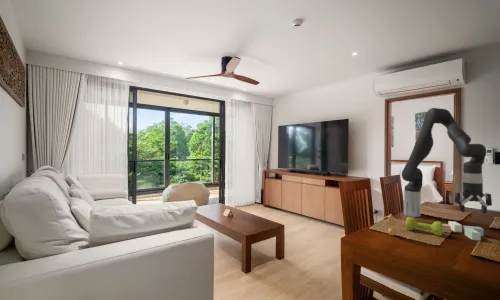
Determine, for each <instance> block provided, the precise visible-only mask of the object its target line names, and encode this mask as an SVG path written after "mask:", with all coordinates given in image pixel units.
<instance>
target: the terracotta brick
mask: <svg viewBox="0 0 500 300" xmlns="http://www.w3.org/2000/svg"><path fill="white" fill-rule="evenodd" d="M442 225H443V233H445V232H446V233H448V234H451V233H452V230H451V226H450V225H448V224H447V223H442ZM446 233H445V234H446Z"/></svg>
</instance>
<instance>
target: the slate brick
mask: <svg viewBox="0 0 500 300" xmlns="http://www.w3.org/2000/svg"><path fill="white" fill-rule="evenodd" d="M465 228H472V229H474V230H476V231H478V232H479V233H481V237H484V228H482V227H481V226H473V225H471V226H470V225H463V234H465Z"/></svg>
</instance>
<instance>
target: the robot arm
mask: <svg viewBox="0 0 500 300" xmlns="http://www.w3.org/2000/svg"><path fill="white" fill-rule="evenodd" d="M422 121H423V122H422V125H421V129H420V131H419V134H418V137H417V138H416V141H415V144H414V146H413V149H412V150H411V151H412V152H411V153H410V156H409V158H408V160H407V162H406V164H405V166H404V167H403V169H402V171H401V178H402V179H403V181H405V182H408V184H406V185H405V186H404V200H403V214H404V216H406V217H412V218H420V217H421V216H422V215H421V214H422V213H421V211H422V207H421V206H422V205H421V204H422V203H421V201H422V200H421V198H422V197H421V196H422V195H421V194H422V191H421V190H422V188H423V179H424V178H423V177H424V176H423V172H422V170H421V169H420V168H418V167H419V165H420V164H421V163H422V162H423V161H424V160H425V159H426V158H427V157H428V156H429V155H430V154H431V152H432V151H431V150H432V149H433V147H434V138H433V135H432V134H433V133H432V131H433V127H434V125H435V124H439V125H440V124H441V125H442V126H444V127H445V128H446V130H447V131H446V133H447V136H448V138H449V140H450V141H452V142H453V143H454V144H455V147H456V149H457V152H458V154H459V155H460V156H462V157H463V158H470V160H469V161H465V162H464V163H463V166H462V169H463V170H462V171H463V173H462V192H458V191H455V192H454V203H456V204H458V205H459V211H460V212H461V213H465V212H466V211H465V204H466V203H468V202H475V203H476V202H477V203H479V204H480V205H481V206H480V207H481V209H480V210H481V211H480V212H481V214H485V215H486V213H488V207H490V206H493V201H492V194H491V193H488V192H486V193H484V184H483V183H484V179H483V178H484V177H483V164H484V162H485V158H486V155H487V148H486V146H485V145H484V144H481V143H471V141H472V138H471V137H470V135H468V134H467V133H466V131H464V130H463V128H461V126H460V125H459V123H457V121H456V120H455V118H454V117H453V115H452V113H451V112H450V111H449V110H448V109H445V108H440V107H431V108H430V109H428V110H427V112H426V113H425V115H424V118H423V120H422ZM461 197H462V198H461ZM483 197H484V198H485V201H484V200H483Z"/></svg>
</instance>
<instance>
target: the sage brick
mask: <svg viewBox="0 0 500 300" xmlns="http://www.w3.org/2000/svg"><path fill="white" fill-rule="evenodd" d="M464 236H465V237H467V238H468V239H470V240H472V241H481V237H482V236H481V233H479V232H478V231H476V230H474V229H472V228H465V233H464Z"/></svg>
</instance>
